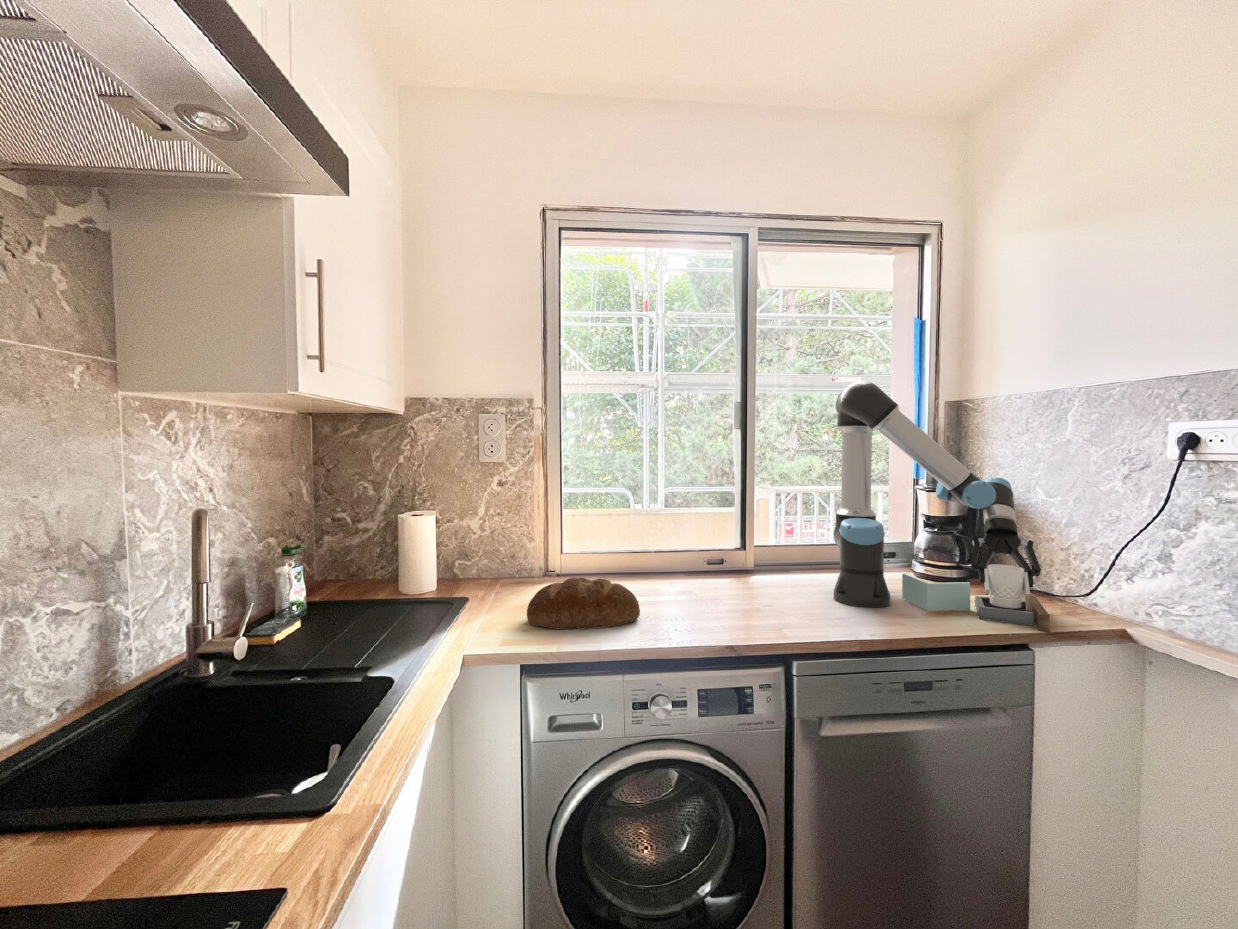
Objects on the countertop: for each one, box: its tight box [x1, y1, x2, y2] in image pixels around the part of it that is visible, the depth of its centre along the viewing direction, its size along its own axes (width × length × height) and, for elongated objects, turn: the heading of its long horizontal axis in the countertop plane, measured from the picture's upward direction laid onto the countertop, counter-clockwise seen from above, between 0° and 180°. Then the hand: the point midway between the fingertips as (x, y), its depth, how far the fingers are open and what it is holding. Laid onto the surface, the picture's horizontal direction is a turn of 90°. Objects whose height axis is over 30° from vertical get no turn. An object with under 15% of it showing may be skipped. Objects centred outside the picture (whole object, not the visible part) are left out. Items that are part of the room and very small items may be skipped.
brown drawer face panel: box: [1024, 594, 1051, 633], centre depth 135 cm, size 2×20×4 cm, turn 150°
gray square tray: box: [974, 595, 1036, 627], centre depth 139 cm, size 12×12×3 cm
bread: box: [526, 577, 641, 630], centre depth 137 cm, size 16×29×11 cm, turn 97°
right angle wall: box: [901, 573, 971, 612], centre depth 150 cm, size 12×12×8 cm
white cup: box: [986, 563, 1025, 609], centre depth 139 cm, size 8×8×10 cm
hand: (1007, 594), depth 136 cm, fingers closed on white cup, 8 cm apart
